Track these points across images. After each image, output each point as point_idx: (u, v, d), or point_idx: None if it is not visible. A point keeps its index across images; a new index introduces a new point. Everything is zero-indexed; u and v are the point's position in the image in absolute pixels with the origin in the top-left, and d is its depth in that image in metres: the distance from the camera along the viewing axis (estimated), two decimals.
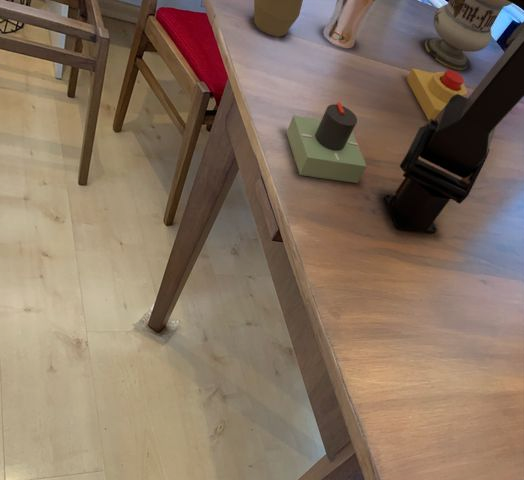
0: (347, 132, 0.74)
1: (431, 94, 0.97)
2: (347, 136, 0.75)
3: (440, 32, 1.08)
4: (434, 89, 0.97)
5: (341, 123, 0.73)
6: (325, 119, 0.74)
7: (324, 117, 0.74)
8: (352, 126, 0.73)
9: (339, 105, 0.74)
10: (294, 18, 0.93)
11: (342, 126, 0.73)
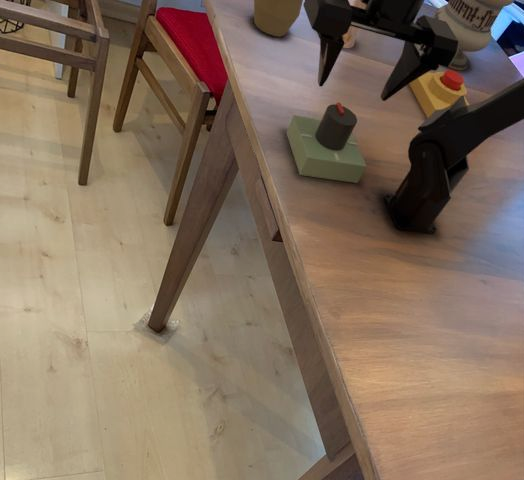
0: (347, 132, 0.74)
1: (431, 94, 0.97)
2: (347, 136, 0.75)
3: None
4: (434, 89, 0.97)
5: (341, 123, 0.73)
6: (325, 119, 0.74)
7: (324, 117, 0.74)
8: (352, 126, 0.73)
9: (339, 105, 0.74)
10: (294, 18, 0.93)
11: (342, 126, 0.73)
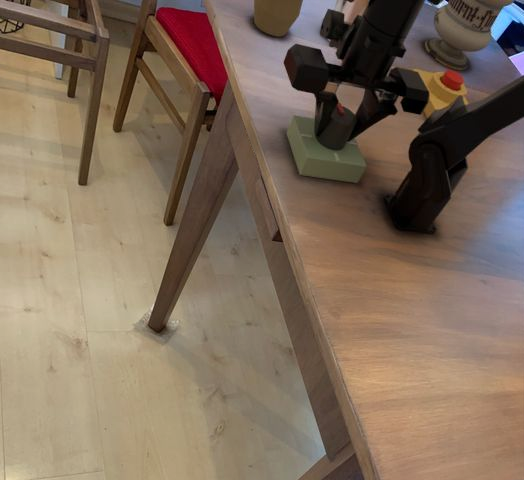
0: (347, 132, 0.74)
1: (431, 94, 0.97)
2: (347, 136, 0.75)
3: (440, 32, 1.08)
4: (434, 89, 0.97)
5: (341, 123, 0.73)
6: None
7: None
8: (352, 126, 0.73)
9: (339, 105, 0.74)
10: (294, 18, 0.93)
11: (342, 126, 0.73)
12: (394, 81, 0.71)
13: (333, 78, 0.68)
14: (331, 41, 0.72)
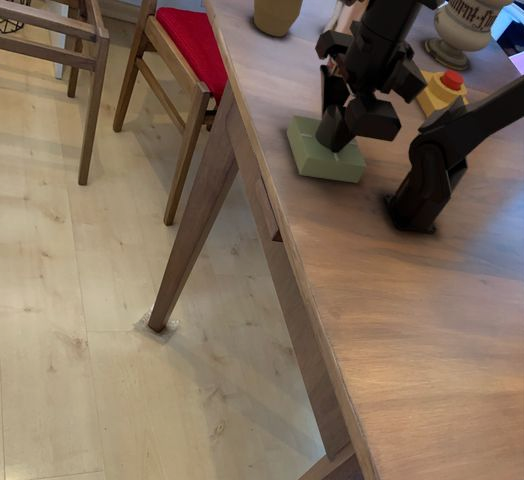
0: (326, 122, 0.74)
1: (431, 94, 0.97)
2: (326, 129, 0.74)
3: (440, 32, 1.07)
4: (434, 89, 0.97)
5: (327, 109, 0.74)
6: None
7: None
8: (330, 118, 0.73)
9: None
10: (294, 18, 0.93)
11: (325, 112, 0.74)
12: None
13: None
14: None
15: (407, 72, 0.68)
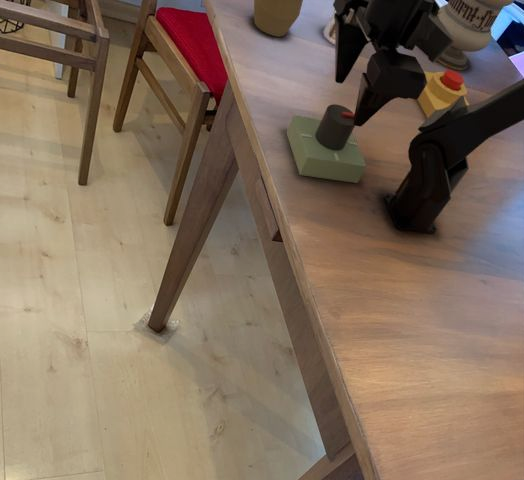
0: (326, 122, 0.74)
1: (431, 94, 0.97)
2: (326, 129, 0.74)
3: None
4: (434, 89, 0.97)
5: (327, 109, 0.74)
6: None
7: None
8: (330, 118, 0.73)
9: (353, 114, 0.74)
10: (294, 18, 0.93)
11: (325, 112, 0.74)
12: None
13: None
14: None
15: (433, 26, 0.64)
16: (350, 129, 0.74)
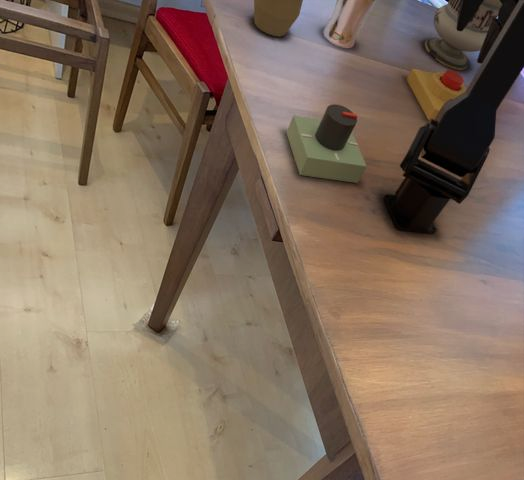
0: (326, 122, 0.74)
1: (431, 94, 0.97)
2: (326, 129, 0.74)
3: (440, 32, 1.07)
4: (434, 89, 0.97)
5: (327, 109, 0.74)
6: None
7: None
8: (330, 118, 0.73)
9: (353, 114, 0.74)
10: (294, 18, 0.93)
11: (325, 112, 0.74)
12: None
13: None
14: None
15: None
16: (350, 129, 0.74)
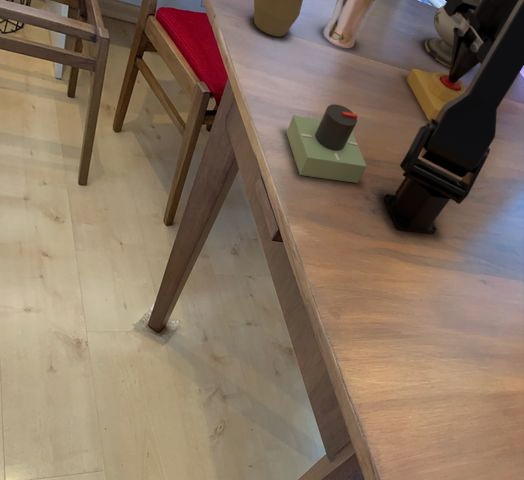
0: (326, 122, 0.74)
1: (431, 94, 0.97)
2: (326, 129, 0.74)
3: (440, 32, 1.08)
4: (434, 89, 0.97)
5: (327, 109, 0.74)
6: None
7: None
8: (330, 118, 0.73)
9: (353, 114, 0.74)
10: (294, 18, 0.93)
11: (325, 112, 0.74)
12: None
13: None
14: None
15: None
16: (350, 129, 0.74)
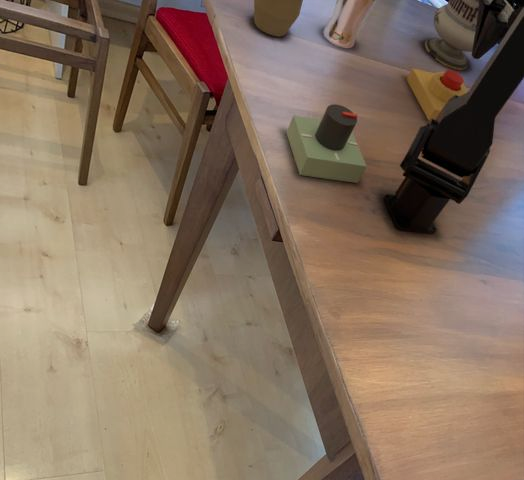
0: (326, 122, 0.74)
1: (431, 94, 0.97)
2: (326, 129, 0.74)
3: (440, 32, 1.08)
4: (434, 89, 0.97)
5: (327, 109, 0.74)
6: None
7: None
8: (330, 118, 0.73)
9: (353, 114, 0.74)
10: (294, 18, 0.93)
11: (325, 112, 0.74)
12: None
13: None
14: None
15: None
16: (350, 129, 0.74)
